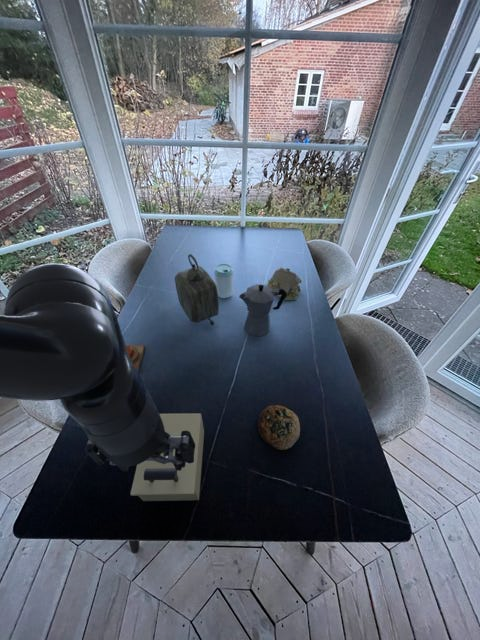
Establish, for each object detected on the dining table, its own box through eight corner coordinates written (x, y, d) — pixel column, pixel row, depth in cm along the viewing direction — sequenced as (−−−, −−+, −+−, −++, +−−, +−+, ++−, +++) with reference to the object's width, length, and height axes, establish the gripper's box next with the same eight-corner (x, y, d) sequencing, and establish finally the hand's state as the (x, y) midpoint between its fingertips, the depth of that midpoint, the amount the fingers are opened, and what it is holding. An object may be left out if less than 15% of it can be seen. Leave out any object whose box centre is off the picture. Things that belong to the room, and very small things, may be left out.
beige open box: (198, 500, 56) (194, 489, 50) (143, 501, 56) (132, 490, 49) (204, 430, 66) (201, 415, 60) (157, 431, 66) (149, 415, 60)
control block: (137, 375, 77) (134, 368, 75) (113, 375, 77) (109, 368, 74) (145, 348, 84) (142, 341, 82) (123, 348, 84) (120, 341, 82)
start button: (131, 359, 77) (130, 356, 76) (119, 359, 77) (117, 356, 76) (134, 350, 80) (133, 346, 78) (122, 350, 80) (121, 346, 78)
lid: (194, 494, 49) (191, 487, 45) (131, 495, 49) (122, 488, 45) (201, 414, 60) (199, 403, 56) (149, 415, 60) (144, 403, 56)
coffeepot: (241, 339, 88) (242, 298, 75) (235, 319, 94) (236, 278, 81) (285, 333, 90) (294, 292, 77) (277, 314, 96) (284, 273, 84)
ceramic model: (306, 290, 107) (311, 269, 100) (291, 304, 101) (296, 283, 94) (276, 276, 113) (279, 256, 106) (261, 289, 107) (263, 268, 100)
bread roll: (249, 416, 69) (252, 407, 65) (284, 403, 73) (290, 394, 70) (269, 459, 62) (274, 451, 59) (307, 442, 66) (314, 434, 63)
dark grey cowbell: (219, 326, 92) (216, 264, 74) (195, 335, 88) (186, 273, 71) (202, 302, 100) (195, 241, 83) (179, 310, 97) (167, 249, 79)
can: (235, 290, 106) (236, 265, 97) (228, 301, 101) (228, 275, 93) (219, 286, 107) (218, 260, 99) (212, 296, 103) (210, 270, 94)
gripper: (49, 455, 29) (101, 491, 40) (180, 453, 29) (195, 490, 41) (78, 393, 34) (117, 441, 46) (188, 392, 35) (199, 440, 46)
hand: (154, 464), depth 43 cm, fingers open, 8 cm apart
